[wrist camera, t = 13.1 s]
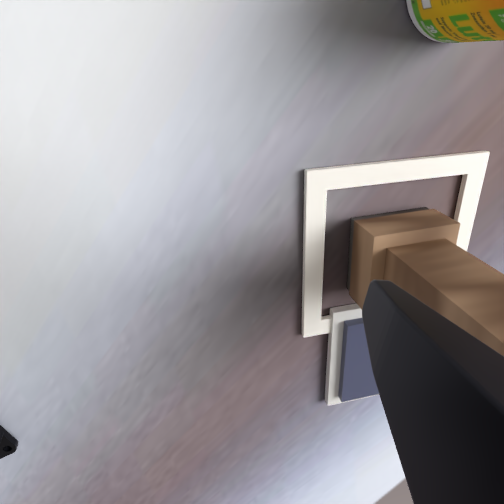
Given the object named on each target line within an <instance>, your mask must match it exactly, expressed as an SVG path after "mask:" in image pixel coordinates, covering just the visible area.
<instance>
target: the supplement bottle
mask: <svg viewBox="0 0 504 504" xmlns="http://www.w3.org/2000/svg"><path fill="white" fill-rule="evenodd" d="M406 2H407V7H408V11H409V14H410V17H411V19H412V22H413V23H414V25H415V26H416V28H417V29H418V30H419V31H420V32H421V33H422V34H423V35H424V36H426V37H427V38H429V39H431V40H434V41H437V42H443V43H458V42H475V41H496V40H504V0H406Z"/></svg>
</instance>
